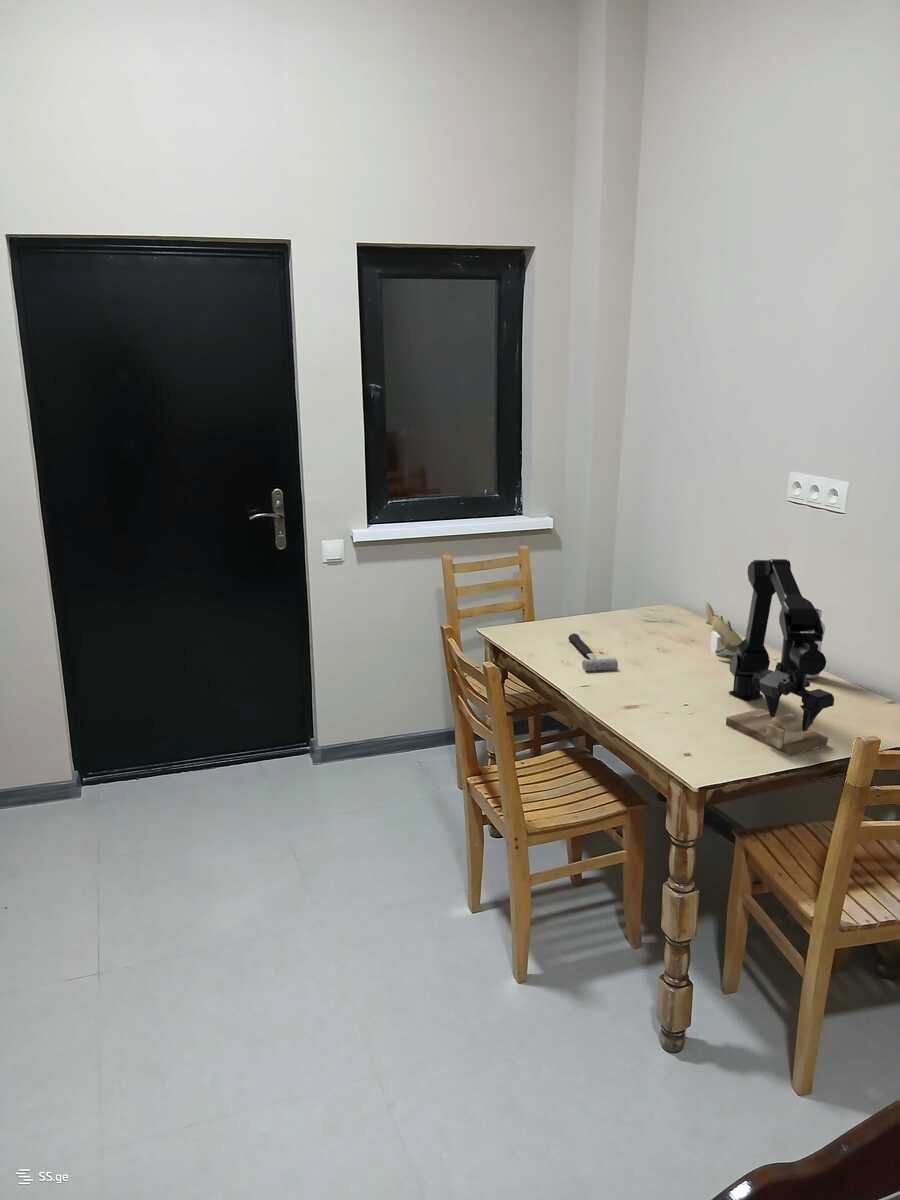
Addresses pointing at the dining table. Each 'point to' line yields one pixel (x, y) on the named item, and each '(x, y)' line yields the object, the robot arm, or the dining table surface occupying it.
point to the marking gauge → (784, 730)
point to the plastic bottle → (817, 642)
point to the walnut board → (757, 728)
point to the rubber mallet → (592, 657)
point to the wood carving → (721, 634)
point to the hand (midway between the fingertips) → (788, 723)
